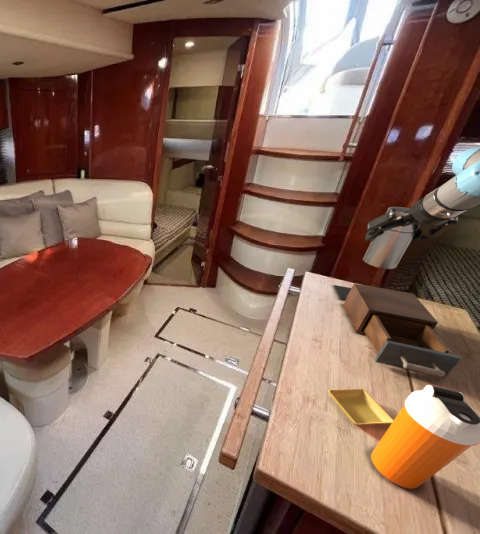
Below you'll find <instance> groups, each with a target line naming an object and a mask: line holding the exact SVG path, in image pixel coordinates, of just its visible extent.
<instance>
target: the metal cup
mask: <svg viewBox="0 0 480 534" xmlns="http://www.w3.org/2000/svg"><path fill="white" fill-rule="evenodd" d="M391 209H396V212H404V211H405V210H408V209H411V208H409V207H403V206H402V207H401V206H389V207H388V208H387V210H386V211H385V213H384V214H386V213H388V212H389V210H391ZM420 226H421V225H413V224H412V225H408V226H404V227H402V226H399V227H395V228H392V229H388V230H384V231H381V234H379V235H378V236H376V237H375V238H373V239H371V240H370V242H369V246H368V247H367V249H366V252H365V253H364V255H363V257H362V261H363V262H364V263H366V264H368V265H370V266H372V267H375V268H378V269H379V268H380V269H383V270H393V269H396V268H397V267H398V264H399V263H400V261H401V259H402V257H403V256H404V254H405V253H406V250H407V249H408V247H409V246H410V244H411V243H412V242H411V240H412V238H413V237H414V235H415V233H416V232H417V230H418V229H419V228H420ZM410 242H411V243H410Z"/></svg>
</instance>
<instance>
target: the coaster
mask: <svg viewBox="0 0 480 534" xmlns="http://www.w3.org/2000/svg"><path fill="white" fill-rule="evenodd" d="M333 288H334V290H335V293H336V295H337V297H338V299H339V300H342V301H345V300H346V298H347V296H348V294H349V292H350V290H351V288H352V287H347V286H342V285H335V284H334V285H333Z"/></svg>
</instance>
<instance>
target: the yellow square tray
mask: <svg viewBox="0 0 480 534" xmlns="http://www.w3.org/2000/svg"><path fill="white" fill-rule="evenodd" d="M328 394H329V395H330V397H331V399H332V400H333V401H334V402H335V403H336V405H337V406H338V407H339V408H340V409H341V411H342V412H343V413H344V414H345V416H346V417H347V418H348V419H349V421H351V423H353V424H354V425H356V426H360V425H361V426H362V425H364V426H365V425H391V424H392V422H393V421H394V420H395V419H393V418H392V416H391V415H389V413H388V412H387V411H386V410H385V409H384V408H382V406H381V405H380V404H379V403H378V402H377V401H376V400H375V399H374V398H373V397H372V396H371V394H369V393H368V392H367V391H366V389H364V388H347V389H346V388H345V389H340V388H339V389H328Z"/></svg>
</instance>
